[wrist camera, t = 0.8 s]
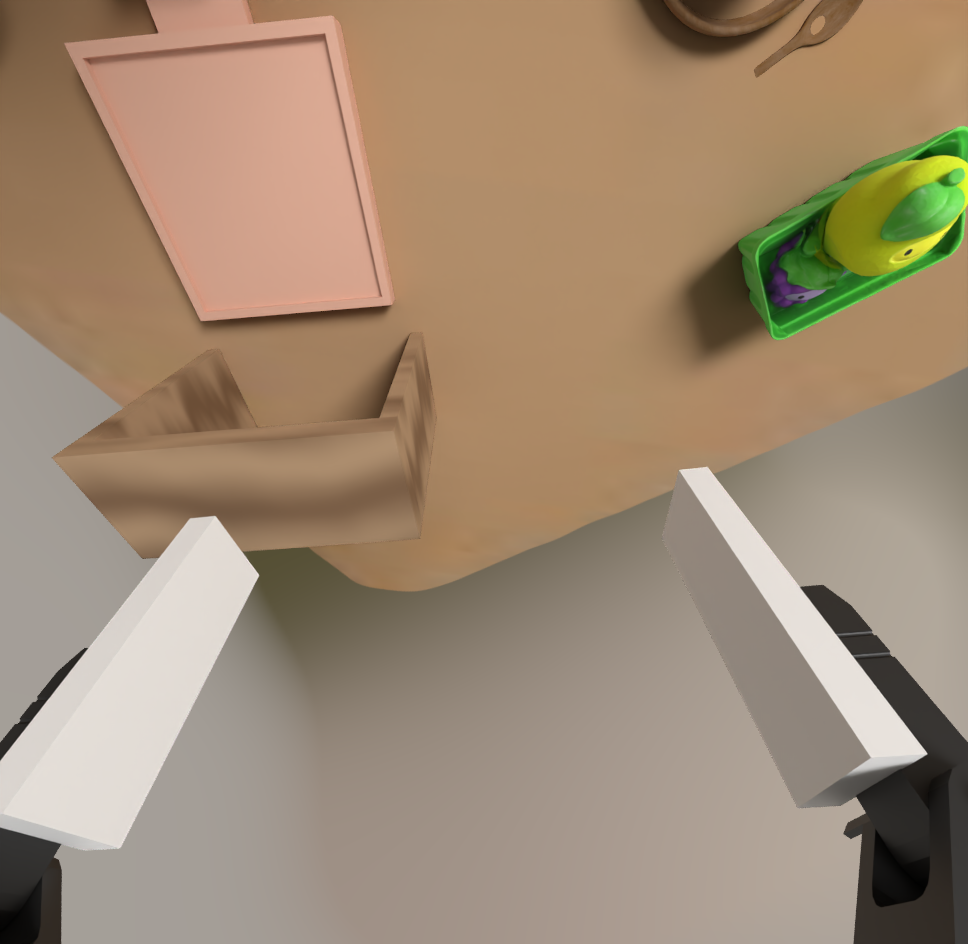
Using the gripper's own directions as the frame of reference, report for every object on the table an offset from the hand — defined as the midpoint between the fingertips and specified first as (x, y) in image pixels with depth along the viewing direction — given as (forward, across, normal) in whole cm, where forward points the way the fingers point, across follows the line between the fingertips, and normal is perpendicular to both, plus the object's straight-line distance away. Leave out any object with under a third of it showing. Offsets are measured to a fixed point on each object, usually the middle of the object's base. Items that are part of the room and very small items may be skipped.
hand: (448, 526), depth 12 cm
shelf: (+24, -13, -6) cm, 28 cm away
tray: (+25, -12, +8) cm, 29 cm away
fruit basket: (+25, +26, +2) cm, 36 cm away
